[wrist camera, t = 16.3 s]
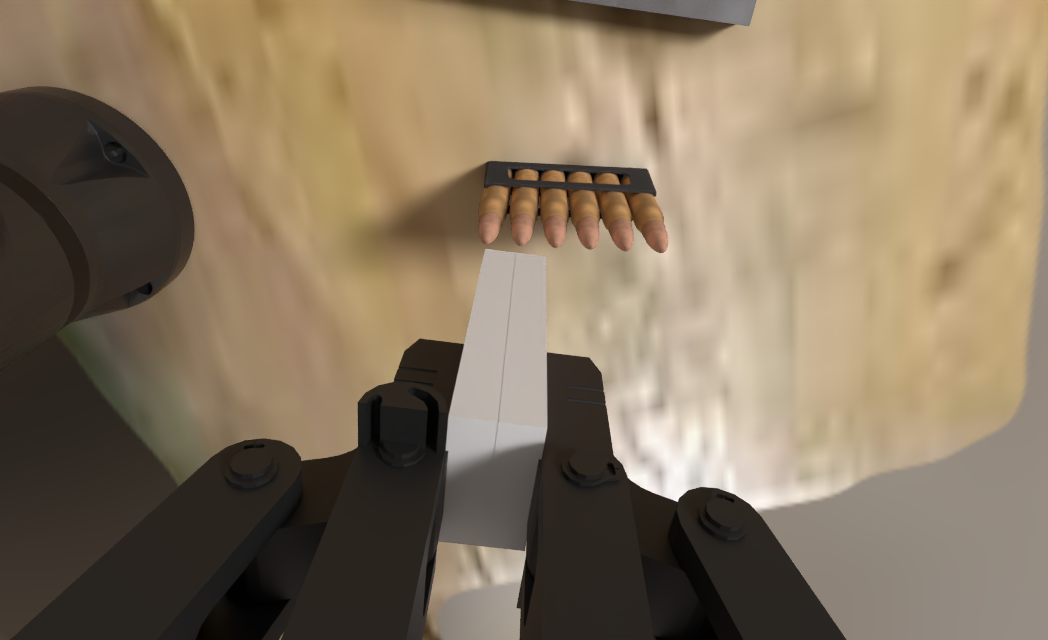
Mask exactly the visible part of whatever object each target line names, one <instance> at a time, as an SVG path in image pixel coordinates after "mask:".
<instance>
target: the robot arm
mask: <svg viewBox="0 0 1048 640" xmlns="http://www.w3.org/2000/svg"><path fill="white" fill-rule="evenodd" d="M193 241H194V218H193V212H192V207H191V203H190V200H189V197H188V194H187V191H186V189H185V186H184V184H183V182H182V180H181V178H180V176H179V174H178V172H177V171H176V169H175V167H174V166H173V164H172V163H171V161H170V160H169V158H168V157H167V156H166V154H165V153H164V152H163V150H162V149H161V148H160V147H159V146H158V144H157V143H156V142H155V141H154V140H153V139H152V138H151V137H150V136H149V135H148V134H147V133H146V132H145V131H144V130H143V129H141V128H140V127H139V126H138V125H137V124H136V123H134V122H133V121H132V120H130V119H129V118H128V117H126V116H125V115H123V114H122V113H120V112H119V111H117V110H116V109H114V108H112V107H111V106H109V105H107V104H105V103H103V102H101V101H99V100H97V99H94V98H92V97H90V96H87V95H84V94H81V93H78V92H75V91H71V90H67V89H62V88H56V87H27V88H21V89H16V90H11V91H6V92H1V93H0V375H1V374H2V373H3V372H5V371H6V370H7V369H8V368H10V367H11V366H12V365H14V364H15V363H17V362H18V361H19V360H20V359H22V358H23V357H25V356H26V355H27V354H29V353H30V352H31V351H32V350H34V349H35V348H36V347H38V346H39V345H41V344H42V343H43V342H45V341H46V340H47V339H49V338H50V337H51V336H53V335H54V334H55V333H56V332H58V331H59V330H61V329H62V328H63V327H65V326H66V325H68V324H69V323H71V322H74V321H78V320H82V319H86V318H90V317H94V316H98V315H102V314H106V313H110V312H114V311H118V310H122V309H126V308H130V307H132V306H135V305H138V304H140V303H142V302H144V301H146V300H148V299H149V298H151V297H153V296H154V295H155V294H157V293H158V292H159V291H161V290H162V289H163V288H164V287H166V286H167V285H168V284H169V283H171V282H172V281H173V280H174V279H175V278H176V277H177V276H178V275H179V274H180V272H181V271H182V270H183V268H184V267H185V265H186V263H187V261H188V259H189V256H190V254H191V250H192V246H193ZM603 390H604V388H603V382H602V375H601V372H600V371H599V369H598V368H597V367H596V366H595V364H594V363H593V362H592V361H591V359H590V358H588V357H580V356H571V355H563V354H555V353H547V332H546V256H538V255H531V254H523V253H515V252H507V251H499V250H491V249H485V252H484V257H483V261H482V266H481V271H480V275H479V280H478V284H477V289H476V293H475V298H474V302H473V307H472V311H471V316H470V320H469V325H468V330H467V334H466V339H465V343H464V344H459V343H451V342H443V341H434V340H426V339H419V340H418V341H416V342H415V343H414V344H413V345H411V346H410V347H409V348H408V349H407V350H405V352H404V354H403V357H402V360H401V362H400V365H399V369H398V370H397V373H396V375H395V378H394V382H392V383H387V384H383V385H379V386H377V387H375V388H373V389H371V390H370V391H368V392H366V393H365V394H364V395H363V397H362V398H361V399H360V400H359V402H358V447H357V448H356V449H354V450H353V451H350V452H347V453H345V454H342V455H338V456H334V457H329V458H322V459H313V460H305V461H301V457H300V456H299V454H298V453H297V452H296V450H295V449H294V447H292V446H290V445H288V444H286V443H284V442H282V441H278V440H271V439H254V440H245V441H242V442H239V443H237V444H234V445H231V446H228V447H226V448H225V449H223V450H222V451H220V452H219V453H217V454H216V455H214V456H213V457H211V458H210V459H209V460H208V461H207V462H206V463H205V464H204V465H202V466H201V467H200V468H199V469H198V470H197V471H196V472H195V473H194V474H193V475H191V476H190V477H189V478H188V479H187V480H186V481H185V482H184V483H183V484H182V485H180V486H179V487H178V488H177V489H176V490H175V491H174V492H173V493H172V494H170V495H169V496H168V497H167V498H166V499H165V500H164V501H163V502H162V503H161V504H160V505H159V506H157V507H156V508H155V509H154V510H153V511H152V512H151V513H150V514H148V515H147V516H146V517H145V518H144V519H143V520H142V521H141V522H140V523H138V525H136V526H135V527H134V528H133V529H132V530H131V531H130V532H129V533H128V534H126V535H125V536H124V537H123V538H122V539H121V540H120V541H119V542H118V543H116V544H115V545H114V546H113V547H112V548H111V549H110V550H109V551H108V552H106V554H104V555H103V556H102V557H101V558H100V559H99V560H98V561H97V562H96V563H94V564H93V565H92V566H91V567H90V568H89V569H88V570H87V571H86V572H84V573H83V574H82V575H81V576H80V577H79V578H78V579H77V580H76V581H75V582H73V583H72V584H71V585H70V586H69V587H68V588H67V589H66V590H65V591H63V592H62V593H61V594H60V595H59V596H58V597H57V598H56V599H55V600H54V601H53V602H51V603H50V604H49V605H48V606H47V607H46V608H45V609H44V610H42V612H40V613H39V614H38V615H37V616H36V617H35V618H34V619H33V620H31V622H29V623H28V624H27V625H26V626H25V627H24V628H23V629H22V630H20V631H19V632H18V633H17V634H16V635H15V636H14V637H13V638H12V639H10V640H279V638H280V637H281V635H282V634H283V632H284V634H283V636H282V639H281V640H422V638H423V633H424V627H425V622H426V616H427V611H428V605H429V600H430V594H431V589H432V583H433V578H434V572H435V563H436V551H437V544H438V541H440V542H449V543H458V544H467V545H477V546H486V547H495V548H504V549H513V550H522V551H525V546H526V560H525V565H524V571H523V576H522V581H521V587H520V592H519V598H518V603H517V608H520V609H521V619H520V640H846V638H845V637H844V636H843V634H842V633H841V631H840V630H839V628H838V627H837V625H836V624H835V623H834V621H833V620H832V618H831V617H830V615H829V614H828V612H827V611H826V610H825V608H824V607H823V605H822V604H821V602H820V601H819V599H818V598H817V597H816V595H815V594H814V592H813V591H812V589H811V588H810V586H809V585H808V584H807V582H806V581H805V579H804V578H803V576H802V575H801V573H800V572H799V570H798V569H797V568H796V566H795V565H794V563H793V562H792V560H791V559H790V557H789V556H788V555H787V553H786V552H785V550H784V549H783V547H782V546H781V544H780V543H779V542H778V540H777V539H776V537H775V536H774V534H773V533H772V532H771V530H770V529H769V527H768V526H767V524H766V523H765V521H764V520H763V519H762V517H761V516H760V515H759V514H758V513H757V512H756V511H755V509H754V508H753V507H752V506H751V505H750V504H748V503H747V502H745V501H744V500H742V499H741V498H739V497H738V496H736V495H734V494H732V493H729V492H726V491H723V490H720V489H718V488H706V487H700V488H696V489H692V490H688V491H687V492H686V493H685V494H684V495H682V496H681V497H680V498H679V501H678V502H676V501H674V500H671V499H668V498H665V497H663V496H660V495H657V494H654V493H652V492H650V491H648V490H645V489H643V488H641V487H640V486H638V485H637V484H635V483H634V482H632V481H631V480H630V479H628V478H627V474H626V472H625V470H624V467H623V465H622V464H621V463H620V462H619V461H618V460H617V459H616V458H615V457H614V455H613V449H612V442H611V435H610V429H609V422H608V415H607V408H606V406H605V403H606V402H605V395H604V392H603ZM526 541H527V544H526Z"/></svg>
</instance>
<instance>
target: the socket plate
mask: <svg viewBox="0 0 1048 640" xmlns="http://www.w3.org/2000/svg"><path fill="white" fill-rule="evenodd" d="M570 1H577V2H584V3H591V4H598V5H605V6H612V7H619V8H626V9H633V10H640V11H647V12H654V13H661V14H668V15H675V16H682V17H689V18H696V19H703V20H710V21H717V22H723V23H730V24H737V25H744V26H749V25H750V22H751V18H752V14H753V11H754V7H755V4H756V0H570Z"/></svg>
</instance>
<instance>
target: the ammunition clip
mask: <svg viewBox="0 0 1048 640" xmlns="http://www.w3.org/2000/svg"><path fill="white" fill-rule="evenodd" d="M652 193H653V194H652ZM510 195H512V196H511V204H510V206H509V200H510ZM653 195H654V196H653ZM539 196H540V208H538V204H539ZM654 197H656V190H655V187H654V185H653V182H652V180H651V177H650V174H649V172H648V170H647V169H641V168H621V167H600V166H580V165H560V164H540V163H520V162H500V161H489V162H487V165H486V174H485V182H484V191H483V195H482V198H481V202H480V206H479V211H478V213H479V226H478V232H479V237H480V239H481V241H482V242H483V243H484V244H490V243H491V242H493V241H494V240H495V239H496V237H497V236H498V234H499V232H500V228H501V226H502V223H503V222H504V220H505V219H506V216H507V214H509V215H510V220H511V225H512V226H511V230H512V236H513V239H514V241H515V242H516V244H518V245H519V246H524V245H525V244H527V243H528V241H529V240H530V238H531V236H532V233H533V229H534V224H535V222H536V220H537V217H538V216H540V217H541V221H542V223H543V225H544V232H545V236H546V239H547V241H548V243H549V244H550V245H551V246H552V247H554V248H557V247H559V246H561V244H562V243H563V241H564V239H565V236H566V227H567V222H568V218H569V217H571V220H572V223H573V225H574V227H575V228H576V231H577V235H578V237H579V240H580V242H581V243H582V245H583V246H584V247H586V248H587V249H593V248H595V246H596V245H597V243H598V240H599V220H600V219H602V220H603V223H604V225H605V227H606V228H607V229H608V230H609V233H610V235H611V237H612V240H613V241H614V243H615V245H616V246H617V247H618V248H620V249H621V250H623V251H628V250H630V249H631V247H632V244H633V239H634V238H633V229H632V224H631V222H632V220H633V221H634V223H635V226H636V228H637V229H638V230H639V231H640V232H641V233H642V235H643V237H644V238H645V240H646V242H647V243H648V245H649V246H650V247H651V248H652V249H653V250H655V251H656V252H659V253H664V252H665V251H666V249H667V247H668V235H667V232H666V229H665V225H664V217H663V214H662V212H661V210H660V208H659V206H658V204H657V202H656V200H655V198H654ZM567 198H569V205H570V210H568V200H567ZM597 201H598V204H597ZM598 205H599V208H598ZM599 209H600V211H599Z"/></svg>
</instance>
